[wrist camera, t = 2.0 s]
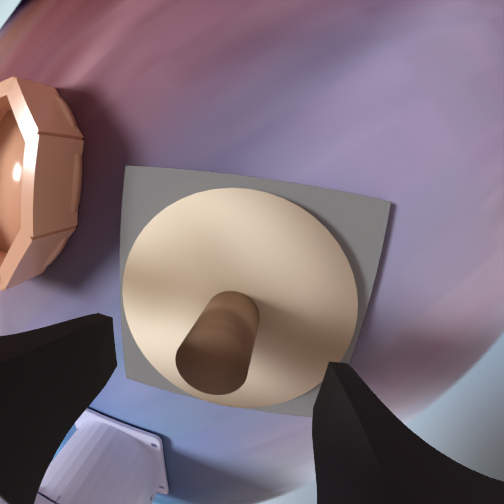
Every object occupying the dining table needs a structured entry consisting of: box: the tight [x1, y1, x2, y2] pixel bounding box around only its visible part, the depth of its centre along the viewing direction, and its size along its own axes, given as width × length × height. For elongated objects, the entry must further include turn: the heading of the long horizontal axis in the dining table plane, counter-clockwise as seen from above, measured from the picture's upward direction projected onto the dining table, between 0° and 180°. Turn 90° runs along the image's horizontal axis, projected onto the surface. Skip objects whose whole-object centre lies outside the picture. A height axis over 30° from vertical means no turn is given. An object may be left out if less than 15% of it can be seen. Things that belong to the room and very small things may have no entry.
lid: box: [122, 188, 358, 408], centre depth 11 cm, size 11×11×5 cm
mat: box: [120, 166, 391, 417], centre depth 13 cm, size 12×12×1 cm
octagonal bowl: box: [0, 76, 84, 291], centre depth 12 cm, size 12×12×4 cm
